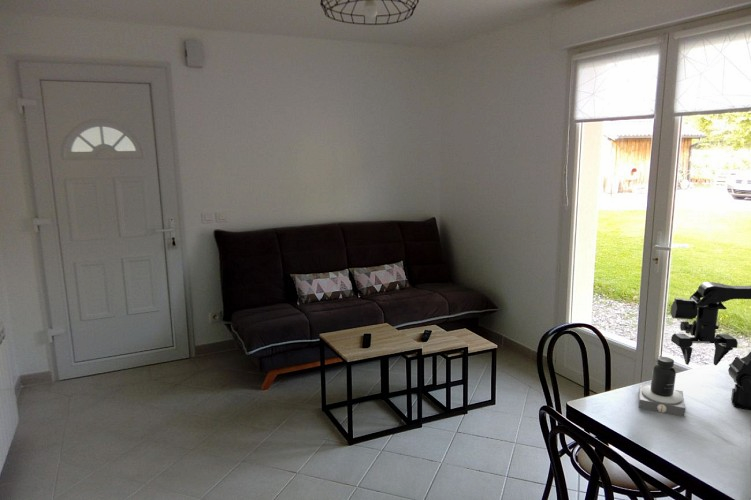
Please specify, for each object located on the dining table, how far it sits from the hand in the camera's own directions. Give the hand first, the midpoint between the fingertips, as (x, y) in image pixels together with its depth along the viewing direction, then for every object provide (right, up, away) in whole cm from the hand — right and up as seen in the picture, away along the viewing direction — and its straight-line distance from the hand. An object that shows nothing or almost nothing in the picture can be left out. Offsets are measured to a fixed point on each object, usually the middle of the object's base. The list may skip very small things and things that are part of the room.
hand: (700, 364), depth 175 cm
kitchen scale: (-13, -13, 0) cm, 19 cm away
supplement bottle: (-13, -10, 0) cm, 16 cm away
